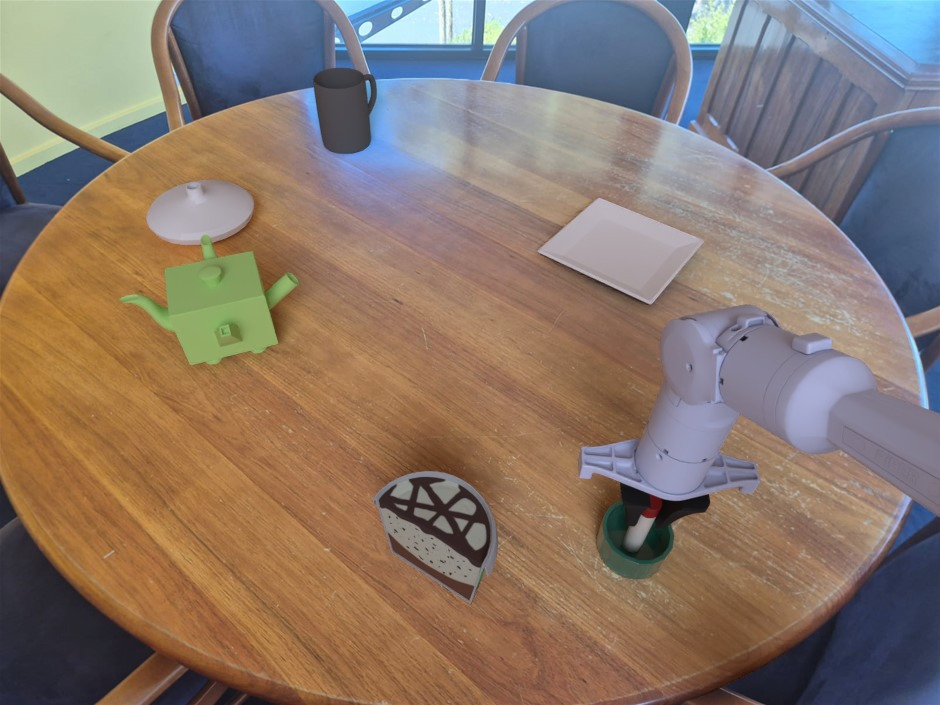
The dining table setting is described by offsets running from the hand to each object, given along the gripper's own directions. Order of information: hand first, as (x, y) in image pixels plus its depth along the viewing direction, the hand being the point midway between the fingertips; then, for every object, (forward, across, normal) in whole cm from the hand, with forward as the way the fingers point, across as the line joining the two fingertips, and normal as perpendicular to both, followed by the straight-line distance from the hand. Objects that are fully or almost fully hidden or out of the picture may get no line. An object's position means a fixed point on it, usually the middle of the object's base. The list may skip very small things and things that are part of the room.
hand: (643, 517), depth 58 cm
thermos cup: (+6, 0, 0) cm, 6 cm away
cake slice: (+6, +18, +2) cm, 19 cm away
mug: (+6, +45, -78) cm, 90 cm away
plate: (+6, -2, -48) cm, 48 cm away
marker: (+5, 0, 0) cm, 5 cm away
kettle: (+6, +50, -24) cm, 56 cm away
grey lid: (+6, +62, -47) cm, 78 cm away
